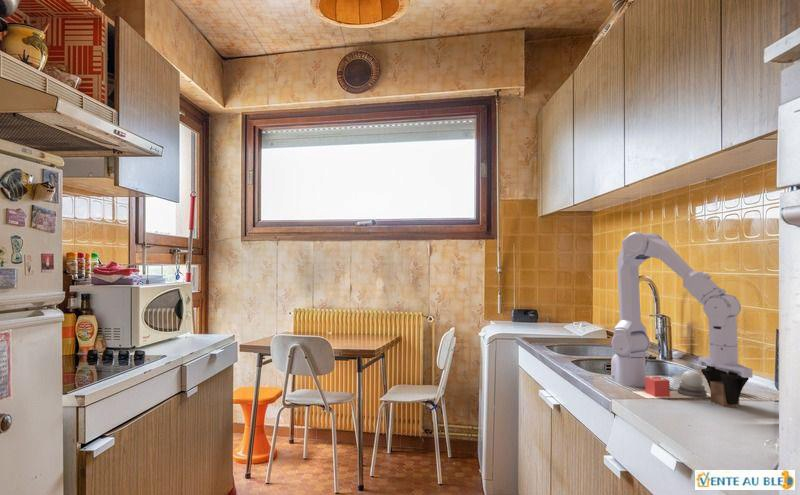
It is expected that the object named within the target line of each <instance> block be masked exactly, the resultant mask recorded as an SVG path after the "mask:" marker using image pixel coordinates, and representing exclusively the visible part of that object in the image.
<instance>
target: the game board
mask: <svg viewBox="0 0 800 495" xmlns="http://www.w3.org/2000/svg"><path fill="white" fill-rule="evenodd" d="M631 392H632V393H634V394H636V395H638V396H641V397H642V398H645V399H683V398H684V399H686V398H687V399H690V398H691V399H693V398H695V399H696V398H697V399H698V398H711V393H708V392H707V390H705V391H704V392H693V391H686V390H683V389H680V388H679V387H677V390H670V396H663V397H655V396H652V395H650V394H648V393H645V390H644V391H643V390H641V391H640V390H637V391H631Z"/></svg>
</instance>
